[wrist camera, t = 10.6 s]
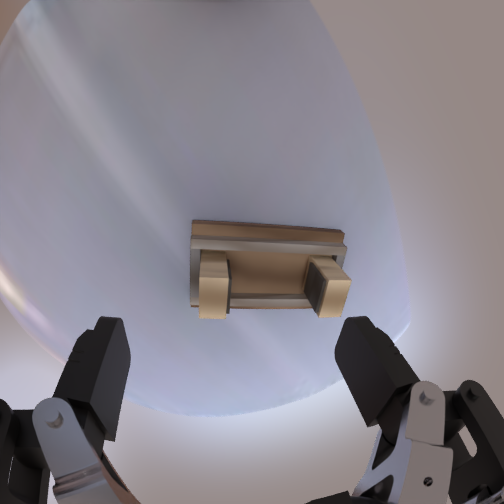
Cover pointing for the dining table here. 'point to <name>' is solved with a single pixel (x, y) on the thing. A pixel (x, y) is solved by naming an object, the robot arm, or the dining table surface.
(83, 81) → the dining table surface
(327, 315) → the maple finger
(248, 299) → the rail base
